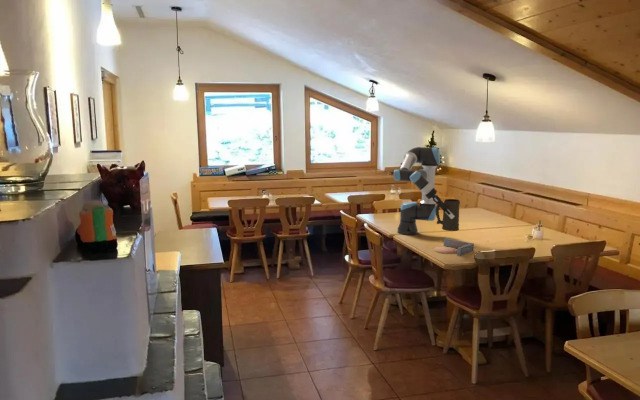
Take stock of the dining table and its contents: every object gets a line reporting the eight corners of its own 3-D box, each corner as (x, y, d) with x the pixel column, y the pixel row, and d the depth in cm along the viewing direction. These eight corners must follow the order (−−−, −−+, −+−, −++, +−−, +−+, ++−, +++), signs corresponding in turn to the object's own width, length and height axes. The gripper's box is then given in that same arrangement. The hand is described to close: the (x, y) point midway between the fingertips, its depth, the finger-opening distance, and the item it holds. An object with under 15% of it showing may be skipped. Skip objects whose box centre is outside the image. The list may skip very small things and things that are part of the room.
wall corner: (445, 244, 349) (445, 237, 348) (473, 250, 334) (473, 243, 333) (431, 249, 336) (431, 242, 335) (459, 256, 321) (460, 248, 321)
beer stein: (457, 227, 336) (457, 198, 333) (462, 231, 325) (461, 200, 322) (434, 228, 336) (433, 199, 333) (438, 232, 325) (437, 201, 322)
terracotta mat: (441, 246, 345) (441, 245, 345) (462, 250, 334) (462, 250, 334) (428, 250, 334) (428, 249, 333) (450, 255, 323) (450, 254, 323)
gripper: (424, 192, 341) (447, 216, 341) (424, 197, 320) (449, 223, 319) (432, 185, 339) (455, 209, 339) (433, 189, 318) (458, 215, 317)
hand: (452, 216), depth 329 cm, fingers closed on beer stein, 9 cm apart
